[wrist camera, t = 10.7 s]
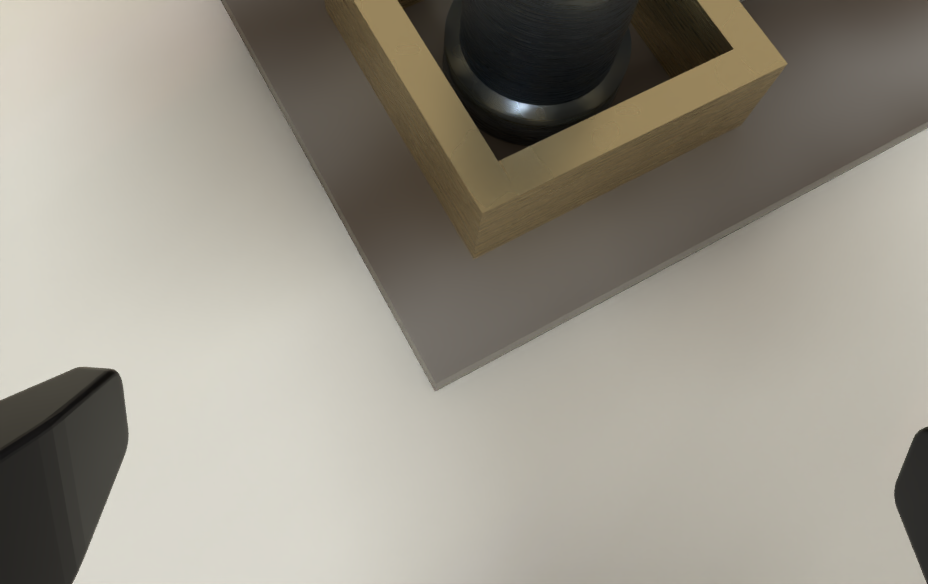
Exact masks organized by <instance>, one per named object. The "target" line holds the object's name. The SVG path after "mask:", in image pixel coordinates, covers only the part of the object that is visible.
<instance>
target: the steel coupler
mask: <svg viewBox="0 0 928 584" xmlns="http://www.w3.org/2000/svg"><path fill="white" fill-rule="evenodd" d="M638 1H639V0H454V1H453V2H452V4H451V7H450V9H449V11H448V14H447V18H446V22H445V33H444V52H443V74H444V75H445V77H446V79H447V80H448V82H449V83H450V85H451V87H452V88H453V90H454V91H455V93H456V95H457V96H458V98H459V99H460V101H461V103H462V104H463V106H464V107H465V109H466V111H467V112H468V114H469V115H470V117H471V119H472V120H473V122H474V123H475V125H476V127H477V128H478V129H480V130H481V131H483V132H484V133H486V134H488V135H490V136H492V137H494V138H496V139H498V140H501V141H504V142H507V143H511V144H516V145H520V146H531V145H533V144H535V143H537V142H539V141H542V140H544V139H546V138H548V137H550V136H552V135H554V134H556V133H558V132H560V131H563V130H565V129H567V128H569V127H571V126H573V125H575V124H577V123H579V122H581V121H584V120H586V119H588V118H590V117H592V116H594V115H596V114H598V113H600V112H602V111H605V110H607V109H609V108H610V106H611V104H612V102H613V100H614V98H615V96H616V94H617V91H618V89H619V87H620V84H621V82H622V80H623V77H624V75H625V73H626V70H627V67H628V64H629V61H630V55H631V35H630V29H629V24H630V21H631V19H632V16H633V14H634V11H635V9H636V6H637V4H638Z"/></svg>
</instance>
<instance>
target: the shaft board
mask: <svg viewBox="0 0 928 584" xmlns="http://www.w3.org/2000/svg"><path fill="white" fill-rule="evenodd" d="M221 1H222V3H223V5H224V7H225V9H226V10H227V12H228V14H229V16H230V18H231V20H232V21H233V23H234V25H235V27H236V29H237V31H238V32H239V34H240V36H241V38H242V40H243V41H244V43H245V45H246V47H247V49H248V51H249V52H250V54H251V56H252V58H253V60H254V62H255V63H256V65H257V67H258V69H259V71H260V73H261V74H262V76H263V78H264V80H265V82H266V83H267V85H268V87H269V89H270V91H271V93H272V94H273V96H274V98H275V100H276V102H277V104H278V105H279V107H280V109H281V111H282V113H283V115H284V116H285V118H286V120H287V122H288V124H289V125H290V127H291V129H292V131H293V133H294V135H295V136H296V138H297V140H298V142H299V144H300V146H301V147H302V149H303V151H304V153H305V155H306V157H307V158H308V160H309V162H310V164H311V166H312V167H313V169H314V171H315V173H316V175H317V177H318V178H319V180H320V182H321V184H322V186H323V188H324V189H325V191H326V193H327V195H328V197H329V199H330V200H331V202H332V204H333V206H334V208H335V209H336V211H337V213H338V215H339V217H340V219H341V220H342V222H343V224H344V226H345V228H346V230H347V231H348V233H349V235H350V237H351V239H352V241H353V242H354V244H355V246H356V248H357V250H358V251H359V253H360V255H361V257H362V259H363V261H364V262H365V264H366V266H367V268H368V270H369V272H370V273H371V275H372V277H373V279H374V281H375V283H376V284H377V286H378V288H379V290H380V292H381V293H382V295H383V297H384V299H385V301H386V303H387V304H388V306H389V308H390V310H391V312H392V314H393V315H394V317H395V319H396V321H397V323H398V325H399V326H400V328H401V330H402V332H403V334H404V335H405V337H406V339H407V341H408V343H409V345H410V346H411V348H412V350H413V352H414V354H415V356H416V357H417V359H418V361H419V363H420V365H421V367H422V368H423V370H424V372H425V374H426V376H427V377H428V379H429V381H430V383H431V385H432V387H433V388H434V390H435V391H437V390H439V389H441V388H442V387H444V386H446V385H448V384H450V383H452V382H454V381H455V380H457V379H459V378H461V377H463V376H465V375H467V374H469V373H470V372H472V371H474V370H476V369H478V368H480V367H482V366H484V365H485V364H487V363H489V362H491V361H493V360H495V359H497V358H498V357H500V356H502V355H504V354H506V353H508V352H510V351H512V350H513V349H515V348H517V347H519V346H521V345H523V344H525V343H527V342H528V341H530V340H532V339H534V338H536V337H538V336H540V335H541V334H543V333H545V332H547V331H549V330H551V329H553V328H555V327H556V326H558V325H560V324H562V323H564V322H566V321H568V320H570V319H571V318H573V317H575V316H577V315H579V314H581V313H583V312H584V311H586V310H588V309H590V308H592V307H594V306H596V305H598V304H599V303H601V302H603V301H605V300H607V299H609V298H611V297H613V296H614V295H616V294H618V293H620V292H622V291H624V290H626V289H627V288H629V287H631V286H633V285H635V284H637V283H639V282H641V281H642V280H644V279H646V278H648V277H650V276H652V275H654V274H656V273H657V272H659V271H661V270H663V269H665V268H667V267H669V266H670V265H672V264H674V263H676V262H678V261H680V260H682V259H684V258H685V257H687V256H689V255H691V254H693V253H695V252H697V251H699V250H700V249H702V248H704V247H706V246H708V245H710V244H712V243H713V242H715V241H717V240H719V239H721V238H723V237H725V236H727V235H728V234H730V233H732V232H734V231H736V230H738V229H740V228H742V227H743V226H745V225H747V224H749V223H751V222H753V221H755V220H756V219H758V218H760V217H762V216H764V215H766V214H768V213H770V212H771V211H773V210H775V209H777V208H779V207H781V206H783V205H785V204H786V203H788V202H790V201H792V200H794V199H796V198H798V197H799V196H801V195H803V194H805V193H807V192H809V191H811V190H813V189H814V188H816V187H818V186H820V185H822V184H824V183H826V182H828V181H829V180H831V179H833V178H835V177H837V176H839V175H841V174H842V173H844V172H846V171H848V170H850V169H852V168H854V167H856V166H857V165H859V164H861V163H863V162H865V161H867V160H869V159H871V158H872V157H874V156H876V155H878V154H880V153H882V152H884V151H885V150H887V149H889V148H891V147H893V146H895V145H897V144H899V143H900V142H902V141H904V140H906V139H908V138H910V137H912V136H914V135H915V134H917V133H919V132H921V131H923V130H925V129H927V128H928V0H745V1H742V2H740V3H741V4H742V5H743V7H744V8H745V9H746V10H747V12H748V13H749V14H750V16H751V17H752V18H753V19H754V21H755V22H756V23H757V25H758V26H759V27H760V28H761V30H762V31H763V32H764V34H765V35H766V36H767V38H768V39H769V40H770V41H771V43H772V44H773V45H774V47H775V48H776V49H777V50H778V52H779V53H780V54H781V56H782V57H783V58H784V59H785V61H786V62H787V63H788V64H787V65H786V67H785V68H784V69H783V71H782V72H781V73H780V75H779V76H778V77H777V79H776V80H775V81H774V83H773V84H772V85H771V87H770V88H769V89H768V90H767V92H766V93H765V94H764V96H763V97H762V98H761V100H760V101H759V102H758V104H757V105H756V106H755V108H754V109H753V110H752V112H751V113H750V114H749V116H748V117H747V118H746V120H745V121H744V122H743V124H742V125H740V126H738V127H736V128H734V129H732V130H730V131H728V132H726V133H724V134H722V135H720V136H718V137H716V138H714V139H712V140H710V141H708V142H706V143H704V144H702V145H701V146H699V147H697V148H695V149H693V150H691V151H689V152H687V153H685V154H683V155H681V156H679V157H677V158H675V159H673V160H671V161H669V162H667V163H665V164H663V165H661V166H659V167H657V168H655V169H653V170H651V171H649V172H647V173H645V174H643V175H641V176H639V177H637V178H635V179H633V180H631V181H629V182H627V183H625V184H623V185H621V186H619V187H617V188H615V189H613V190H611V191H609V192H607V193H605V194H603V195H601V196H599V197H597V198H595V199H593V200H591V201H589V202H587V203H585V204H583V205H581V206H579V207H577V208H575V209H573V210H571V211H569V212H567V213H565V214H563V215H561V216H559V217H557V218H555V219H553V220H551V221H549V222H547V223H545V224H543V225H541V226H539V227H537V228H535V229H533V230H531V231H529V232H527V233H525V234H523V235H521V236H519V237H517V238H515V239H513V240H511V241H509V242H507V243H505V244H503V245H501V246H499V247H497V248H495V249H493V250H491V251H489V252H487V253H485V254H483V255H481V256H479V257H477V258H475V259H473V258H472V256H471V254H470V253H469V251H468V249H467V248H466V246H465V244H464V242H463V241H462V239H461V237H460V236H459V234H458V232H457V231H456V229H455V227H454V226H453V224H452V222H451V220H450V219H449V217H448V215H447V214H446V212H445V210H444V209H443V207H442V205H441V204H440V202H439V200H438V199H437V197H436V195H435V193H434V192H433V190H432V188H431V187H430V185H429V183H428V182H427V180H426V178H425V177H424V175H423V173H422V171H421V170H420V168H419V166H418V165H417V163H416V161H415V160H414V158H413V156H412V155H411V153H410V151H409V149H408V148H407V146H406V144H405V143H404V141H403V139H402V138H401V136H400V134H399V133H398V131H397V129H396V127H395V126H394V124H393V122H392V121H391V119H390V117H389V116H388V114H387V112H386V111H385V109H384V107H383V105H382V104H381V102H380V100H379V99H378V97H377V95H376V94H375V92H374V90H373V89H372V87H371V85H370V83H369V82H368V80H367V78H366V77H365V75H364V73H363V72H362V70H361V68H360V67H359V65H358V63H357V61H356V60H355V58H354V56H353V55H352V53H351V51H350V50H349V48H348V46H347V45H346V43H345V41H344V40H343V38H342V36H341V34H340V33H339V31H338V29H337V28H336V26H335V24H334V23H333V21H332V19H331V18H330V16H329V14H328V12H327V11H326V7H325V1H324V0H221ZM453 1H454V0H424V1H421V2H419V3H417V4H414V5H412V6H410V7H407V8H405V9H403V10H404V11H405V13H406V15H407V16H408V18H409V19H410V21H411V23H412V24H413V26H414V27H415V29H416V31H417V32H418V34H419V35H420V37H421V39H422V40H423V42H424V43H425V45H426V47H427V48H428V50H429V51H430V53H431V55H432V56H433V58H434V59H435V61H436V63H437V64H438V66H439V67H440V69H441V71H442V72H443V52H444V33H445V22H446V18H447V14H448V11H449V9H450V7H451V4H452V2H453ZM629 29H630V35H631V55H630V61H629V64H628V67H627V70H626V73H625V75H624V77H623V80H622V82H621V84H620V87H619V89H618V91H617V94H616V96H615V98H614V100H613V102H612V104H611V106H610V108H611V107H613V106H615V105H617V104H619V103H621V102H623V101H626V100H628V99H630V98H632V97H634V96H636V95H638V94H640V93H642V92H644V91H647V90H649V89H651V88H653V87H655V86H657V85H659V84H661V83H663V82H666V81H668V80H670V77H669V76H668V74H667V73H666V72H665V70H664V69H663V67H662V66H661V65H660V63H659V62H658V60H657V59H656V58H655V56H654V55H653V54H652V52H651V51H650V49H649V48H648V47H647V45H646V44H645V42H644V41H643V40H642V38H641V37H640V35H639V34H638V33H637V31H636V30H635V29H634V27H633V26H632V24H631V23H630V24H629ZM478 130H479V131H480V133H481V135H482V136H483V138H484V139H485V141H486V143H487V144H488V146H489V147H490V149H491V151H492V152H493V154H494V155H495V157H496V159H497V160H498V161H499V160H502V159H504V158H506V157H508V156H510V155H512V154H514V153H516V152H518V151H520V150H523V149H525V148H527V147H529V146H520V145H516V144H511V143H507V142H504V141H501V140H498V139H496V138H494V137H492V136H490V135H488V134H486V133H484V132H483V131H481V130H480V129H478Z"/></svg>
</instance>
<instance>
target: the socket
mask: <svg viewBox="0 0 928 584" xmlns="http://www.w3.org/2000/svg"><path fill="white" fill-rule="evenodd" d="M324 1H325V7H326V11H327V12H328V14H329V16H330V18H331V19H332V21H333V23H334V24H335V26H336V28H337V29H338V31H339V33H340V34H341V36H342V38H343V40H344V41H345V43H346V45H347V46H348V48H349V50H350V51H351V53H352V55H353V56H354V58H355V60H356V61H357V63H358V65H359V67H360V68H361V70H362V72H363V73H364V75H365V77H366V78H367V80H368V82H369V83H370V85H371V87H372V89H373V90H374V92H375V94H376V95H377V97H378V99H379V100H380V102H381V104H382V105H383V107H384V109H385V111H386V112H387V114H388V116H389V117H390V119H391V121H392V122H393V124H394V126H395V127H396V129H397V131H398V133H399V134H400V136H401V138H402V139H403V141H404V143H405V144H406V146H407V148H408V149H409V151H410V153H411V155H412V156H413V158H414V160H415V161H416V163H417V165H418V166H419V168H420V170H421V171H422V173H423V175H424V177H425V178H426V180H427V182H428V183H429V185H430V187H431V188H432V190H433V192H434V193H435V195H436V197H437V199H438V200H439V202H440V204H441V205H442V207H443V209H444V210H445V212H446V214H447V215H448V217H449V219H450V220H451V222H452V224H453V226H454V227H455V229H456V231H457V232H458V234H459V236H460V237H461V239H462V241H463V242H464V244H465V246H466V248H467V249H468V251H469V253H470V254H471V256H472V258H473V259H475V258H477V257H479V256H481V255H483V254H485V253H487V252H489V251H491V250H493V249H495V248H497V247H499V246H501V245H503V244H505V243H507V242H509V241H511V240H513V239H515V238H517V237H519V236H521V235H523V234H525V233H527V232H529V231H531V230H533V229H535V228H537V227H539V226H541V225H543V224H545V223H547V222H549V221H551V220H553V219H555V218H557V217H559V216H561V215H563V214H565V213H567V212H569V211H571V210H573V209H575V208H577V207H579V206H581V205H583V204H585V203H587V202H589V201H591V200H593V199H595V198H597V197H599V196H601V195H603V194H605V193H607V192H609V191H611V190H613V189H615V188H617V187H619V186H621V185H623V184H625V183H627V182H629V181H631V180H633V179H635V178H637V177H639V176H641V175H643V174H645V173H647V172H649V171H651V170H653V169H655V168H657V167H659V166H661V165H663V164H665V163H667V162H669V161H671V160H673V159H675V158H677V157H679V156H681V155H683V154H685V153H687V152H689V151H691V150H693V149H695V148H697V147H699V146H701V145H702V144H704V143H706V142H708V141H710V140H712V139H714V138H716V137H718V136H720V135H722V134H724V133H726V132H728V131H730V130H732V129H734V128H736V127H738V126H740V125H742V124H743V122H744V121H745V120H746V118H747V117H748V116H749V114H750V113H751V112H752V110H753V109H754V108H755V106H756V105H757V104H758V102H759V101H760V100H761V98H762V97H763V96H764V94H765V93H766V92H767V90H768V89H769V88H770V87H771V85H772V84H773V83H774V81H775V80H776V79H777V77H778V76H779V75H780V73H781V72H782V71H783V69H784V68H785V67H786V65H787V64H788V63H787V62H786V61H785V59H784V58H783V57H782V56H781V54H780V53H779V52H778V50H777V49H776V48H775V47H774V45H773V44H772V43H771V41H770V40H769V39H768V38H767V36H766V35H765V34H764V32H763V31H762V30H761V28H760V27H759V26H758V25H757V23H756V22H755V21H754V19H753V18H752V17H751V16H750V14H749V13H748V12H747V10H746V9H745V8H744V7H743V5H742V4H741V3H740V2H742V1H745V0H639V1H638V4H637V6H636V9H635V11H634V14H633V16H632V19H631V21H630V23H631V24H632V26H633V27H634V29H635V30H636V31H637V33H638V34H639V35H640V37H641V38H642V40H643V41H644V42H645V44H646V45H647V47H648V48H649V49H650V51H651V52H652V54H653V55H654V56H655V58H656V59H657V60H658V62H659V63H660V65H661V66H662V67H663V69H664V70H665V72H666V73H667V74H668V76H669V77H670V80H668V81H666V82H663V83H661V84H659V85H657V86H655V87H653V88H651V89H649V90H647V91H644V92H642V93H640V94H638V95H636V96H634V97H632V98H630V99H628V100H626V101H623V102H621V103H619V104H617V105H615V106H613V107H611V108H609V109H607V110H605V111H602V112H600V113H598V114H596V115H594V116H592V117H590V118H588V119H586V120H584V121H581V122H579V123H577V124H575V125H573V126H571V127H569V128H567V129H565V130H563V131H560V132H558V133H556V134H554V135H552V136H550V137H548V138H546V139H544V140H542V141H539V142H537V143H535V144H533V145H531V146H529V147H527V148H525V149H523V150H520V151H518V152H516V153H514V154H512V155H510V156H508V157H506V158H504V159H502V160H499V161H498V160H497V159H496V157H495V155H494V154H493V152H492V151H491V149H490V147H489V146H488V144H487V143H486V141H485V139H484V138H483V136H482V135H481V133H480V131H479V130H478V128H477V127H476V125H475V123H474V122H473V120H472V119H471V117H470V115H469V114H468V112H467V111H466V109H465V107H464V106H463V104H462V103H461V101H460V99H459V98H458V96H457V95H456V93H455V91H454V90H453V88H452V87H451V85H450V83H449V82H448V80H447V79H446V77H445V75H444V74H443V72H442V71H441V69H440V67H439V66H438V64H437V63H436V61H435V59H434V58H433V56H432V55H431V53H430V51H429V50H428V48H427V47H426V45H425V43H424V42H423V40H422V39H421V37H420V35H419V34H418V32H417V31H416V29H415V27H414V26H413V24H412V23H411V21H410V19H409V18H408V16H407V15H406V13H405V11H404V10H403V9H405V8H407V7H410V6H412V5H414V4H417V3H419V2H421V1H424V0H324Z"/></svg>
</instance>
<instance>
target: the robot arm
mask: <svg viewBox="0 0 928 584" xmlns="http://www.w3.org/2000/svg"><path fill="white" fill-rule="evenodd" d="M128 434H129V433H128V423H127V415H126V407H125V399H124V391H123V384H122V380H121V377H120V375H119V373H118V372H117V371H115V370H114V369H107V368H93V367H77V368H74V369H72V370H70V371H68V372H65V373H63V374H61V375H58V376H56V377H54V378H51V379H49V380H47V381H44V382H42V383H40V384H37V385H35V386H33V387H30V388H28V389H26V390H23V391H21V392H19V393H17V394H14V395H12V396H10V397H7V398H5V399H3V400H0V584H72V583H73V581H74V579H75V577H76V575H77V573H78V571H79V568H80V566H81V564H82V561H83V559H84V557H85V554H86V552H87V550H88V547H89V544H90V542H91V539H92V537H93V534H94V532H95V529H96V527H97V524H98V522H99V519H100V517H101V514H102V512H103V509H104V506H105V504H106V501H107V499H108V496H109V494H110V491H111V489H112V486H113V484H114V481H115V479H116V476H117V473H118V471H119V468H120V466H121V463H122V461H123V458H124V456H125V453H126V449H127V445H128ZM894 497H895V503H896V507H897V509H898V512H899V514H900V517H901V520H902V522H903V525H904V527H905V530H906V532H907V535H908V537H909V540H910V542H911V545H912V547H913V550H914V552H915V555H916V557H917V560H918V562H919V565H920V567H921V570H922V572H923V575H924V577H925V580H926V582H927V584H928V427H925V428H923V429H921V430H919V431H918V432H917V434H916V435H915V437H914V438H913V441H912V443H911V446H910V448H909V451H908V453H907V456H906V458H905V461H904V463H903V466H902V468H901V471H900V473H899V476H898V478H897V481H896V484H895V490H894Z"/></svg>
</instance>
